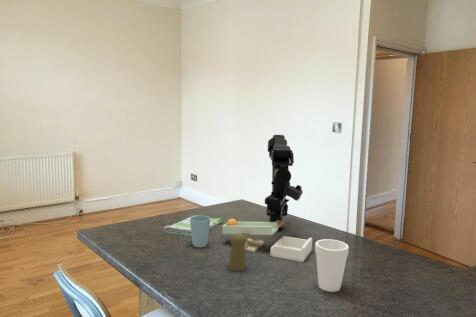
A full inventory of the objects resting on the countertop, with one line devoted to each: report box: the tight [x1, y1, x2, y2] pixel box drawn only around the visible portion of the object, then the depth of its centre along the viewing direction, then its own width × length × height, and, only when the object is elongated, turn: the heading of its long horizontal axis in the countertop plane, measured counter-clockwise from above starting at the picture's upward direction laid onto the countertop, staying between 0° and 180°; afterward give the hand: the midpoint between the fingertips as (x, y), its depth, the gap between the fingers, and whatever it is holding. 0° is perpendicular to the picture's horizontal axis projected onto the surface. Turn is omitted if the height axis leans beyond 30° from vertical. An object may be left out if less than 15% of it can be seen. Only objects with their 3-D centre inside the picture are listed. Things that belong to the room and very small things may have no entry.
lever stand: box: [242, 232, 265, 253], centre depth 145 cm, size 11×8×7 cm
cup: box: [190, 215, 212, 248], centre depth 144 cm, size 8×8×10 cm
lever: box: [221, 219, 285, 236], centre depth 149 cm, size 16×20×3 cm
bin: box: [269, 235, 313, 263], centre depth 138 cm, size 12×12×5 cm
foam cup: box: [314, 238, 350, 293], centre depth 113 cm, size 10×9×13 cm
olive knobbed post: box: [227, 234, 247, 272], centre depth 125 cm, size 6×6×11 cm
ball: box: [226, 218, 238, 226], centre depth 147 cm, size 4×4×4 cm
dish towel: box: [163, 214, 224, 237], centre depth 166 cm, size 17×23×4 cm
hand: (279, 217), depth 151 cm, fingers closed
